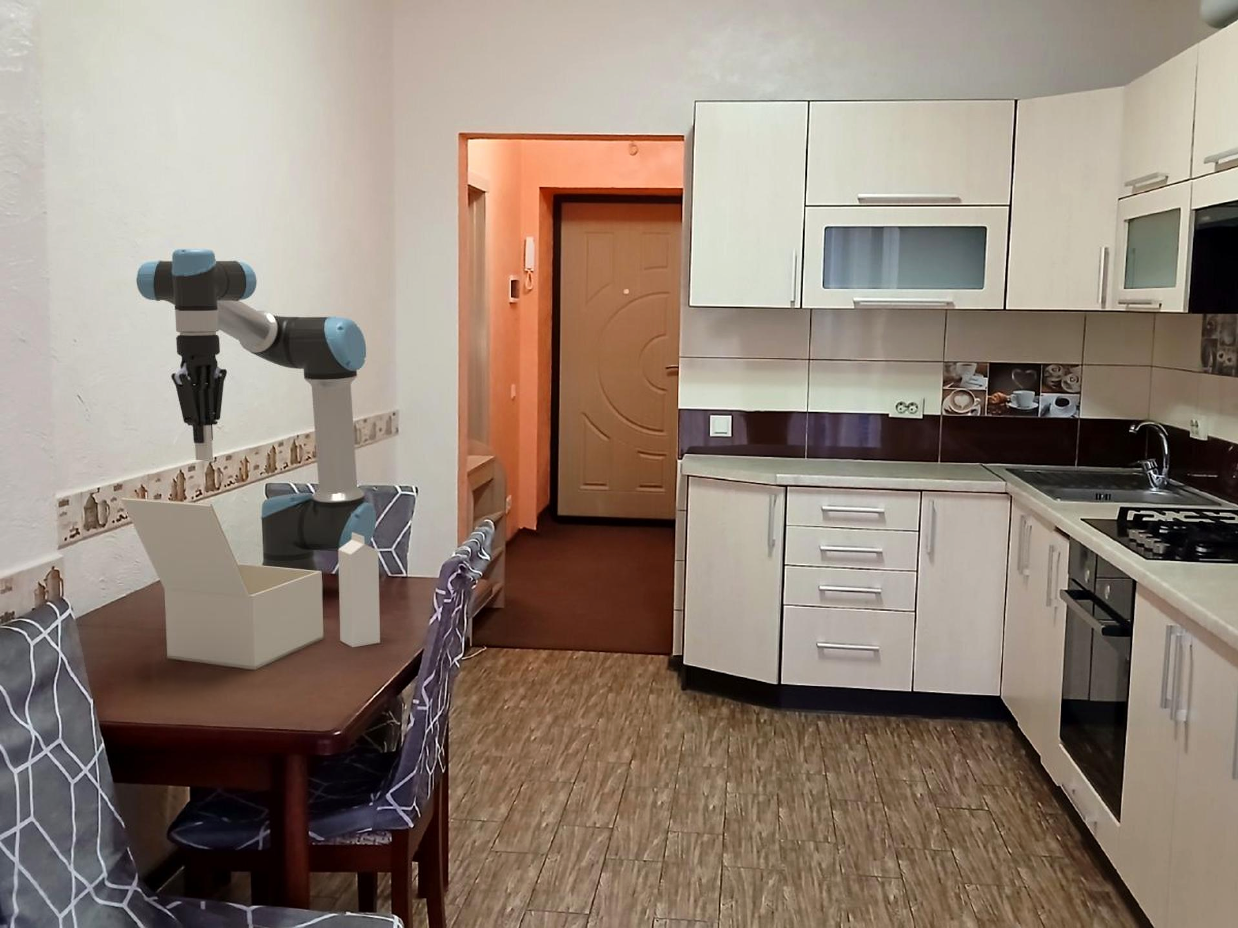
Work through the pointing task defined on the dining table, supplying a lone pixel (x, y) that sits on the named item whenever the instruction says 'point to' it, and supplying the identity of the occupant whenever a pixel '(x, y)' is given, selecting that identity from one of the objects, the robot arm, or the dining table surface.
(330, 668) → the dining table surface
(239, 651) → the carton
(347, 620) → the milk
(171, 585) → the flap
